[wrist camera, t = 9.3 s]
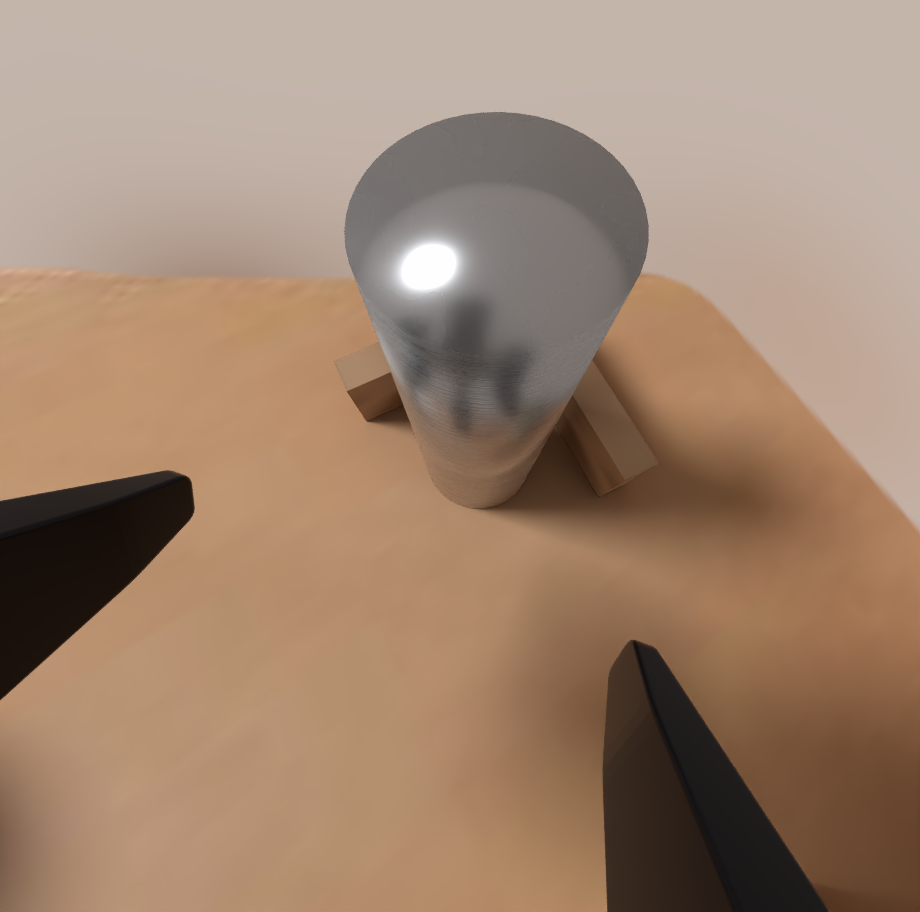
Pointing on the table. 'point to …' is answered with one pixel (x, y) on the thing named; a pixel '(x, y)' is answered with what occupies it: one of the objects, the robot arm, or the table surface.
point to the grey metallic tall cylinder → (492, 284)
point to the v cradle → (581, 424)
